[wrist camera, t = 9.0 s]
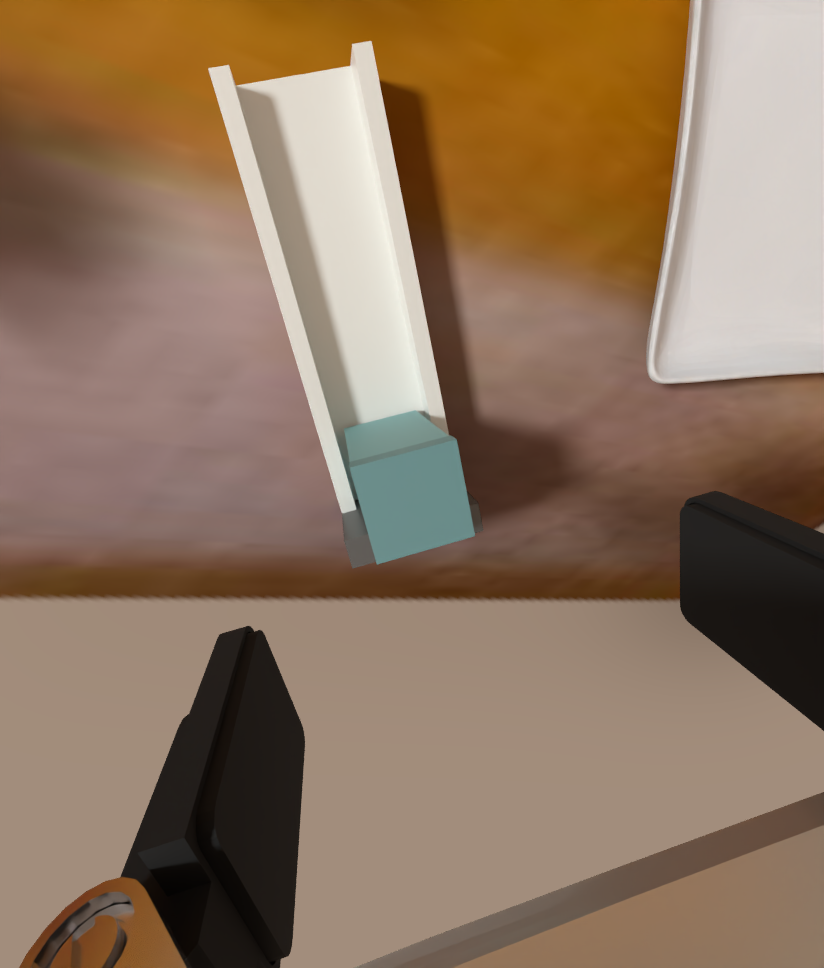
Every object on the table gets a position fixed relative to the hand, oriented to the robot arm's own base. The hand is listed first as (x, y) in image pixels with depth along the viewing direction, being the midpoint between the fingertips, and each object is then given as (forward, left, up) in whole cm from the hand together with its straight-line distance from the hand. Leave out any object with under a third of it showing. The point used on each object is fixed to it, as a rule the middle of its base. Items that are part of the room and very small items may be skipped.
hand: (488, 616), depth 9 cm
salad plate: (-27, -9, -18) cm, 33 cm away
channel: (0, -7, -17) cm, 18 cm away
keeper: (0, 0, -16) cm, 16 cm away
